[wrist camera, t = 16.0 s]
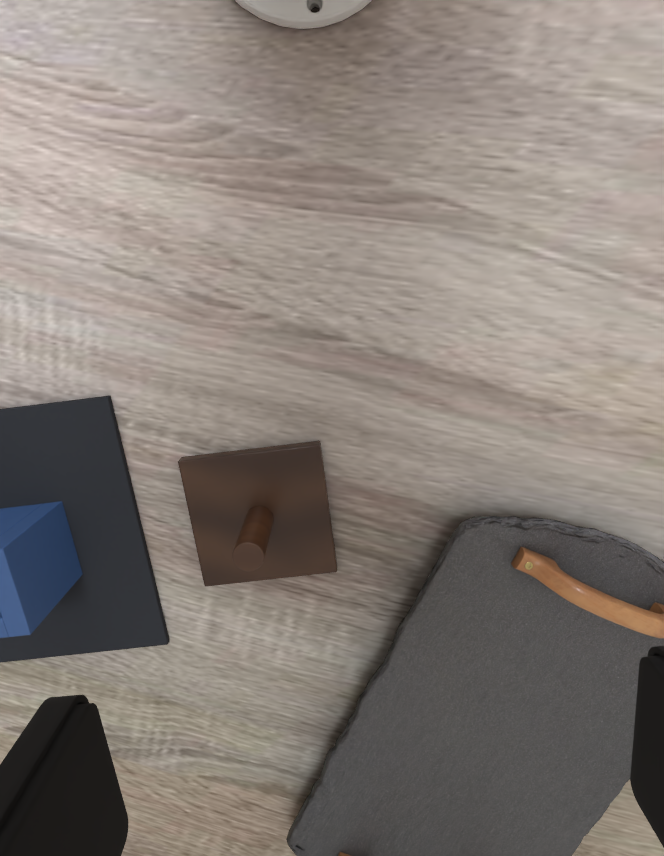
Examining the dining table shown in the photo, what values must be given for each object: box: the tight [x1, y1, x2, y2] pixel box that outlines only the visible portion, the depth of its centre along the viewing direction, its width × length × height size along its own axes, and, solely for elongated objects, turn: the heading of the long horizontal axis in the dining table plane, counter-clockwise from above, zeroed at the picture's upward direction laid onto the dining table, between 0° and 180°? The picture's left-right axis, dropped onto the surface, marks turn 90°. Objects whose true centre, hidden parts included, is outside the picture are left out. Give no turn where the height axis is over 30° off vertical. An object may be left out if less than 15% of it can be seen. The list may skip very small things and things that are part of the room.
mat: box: [0, 396, 169, 662], centre depth 38 cm, size 20×16×1 cm
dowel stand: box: [178, 441, 337, 586], centre depth 35 cm, size 10×10×6 cm
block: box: [0, 501, 83, 638], centre depth 35 cm, size 6×6×7 cm
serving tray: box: [287, 516, 664, 856], centre depth 40 cm, size 39×23×6 cm, turn 156°
